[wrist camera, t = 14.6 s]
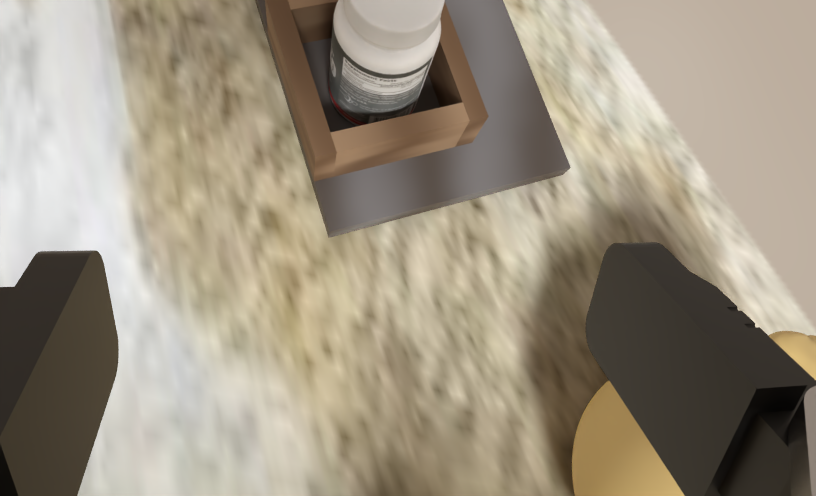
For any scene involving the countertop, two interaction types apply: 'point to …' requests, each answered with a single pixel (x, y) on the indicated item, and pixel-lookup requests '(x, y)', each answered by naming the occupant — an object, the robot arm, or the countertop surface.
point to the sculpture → (640, 439)
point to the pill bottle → (381, 56)
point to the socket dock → (416, 118)
